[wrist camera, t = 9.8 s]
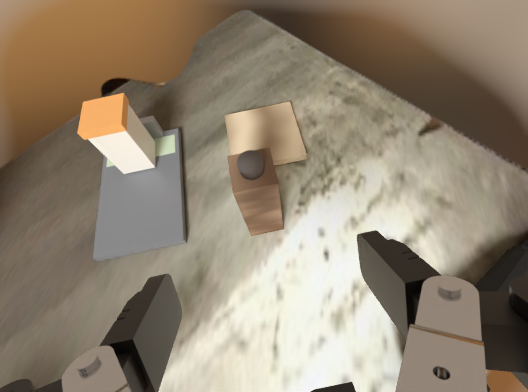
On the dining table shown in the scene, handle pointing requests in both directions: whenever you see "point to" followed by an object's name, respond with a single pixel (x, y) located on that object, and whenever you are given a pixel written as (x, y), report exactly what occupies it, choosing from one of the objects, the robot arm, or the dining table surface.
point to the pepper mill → (256, 190)
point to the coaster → (267, 132)
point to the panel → (142, 201)
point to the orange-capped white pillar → (117, 133)
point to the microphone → (506, 271)
